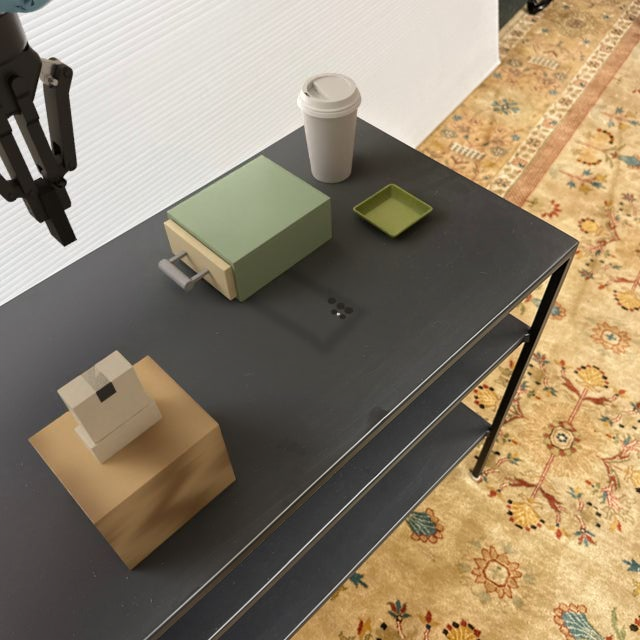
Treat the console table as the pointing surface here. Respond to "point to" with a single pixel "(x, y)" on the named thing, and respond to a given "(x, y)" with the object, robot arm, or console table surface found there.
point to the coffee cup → (330, 124)
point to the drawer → (196, 262)
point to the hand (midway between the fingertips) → (63, 237)
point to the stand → (143, 469)
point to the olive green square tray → (392, 210)
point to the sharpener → (109, 406)
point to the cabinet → (257, 222)
